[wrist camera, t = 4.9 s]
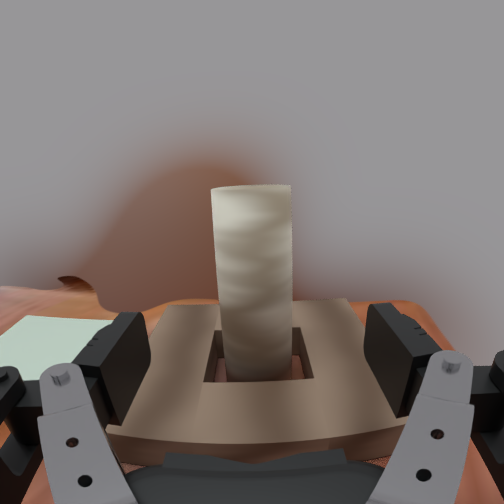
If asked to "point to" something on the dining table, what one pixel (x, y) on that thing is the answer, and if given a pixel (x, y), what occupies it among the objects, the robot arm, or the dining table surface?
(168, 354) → the board
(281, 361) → the maple peg
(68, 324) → the sage pad
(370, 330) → the robot arm
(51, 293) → the dining table surface
